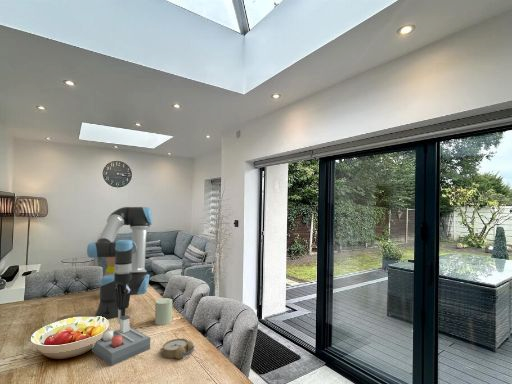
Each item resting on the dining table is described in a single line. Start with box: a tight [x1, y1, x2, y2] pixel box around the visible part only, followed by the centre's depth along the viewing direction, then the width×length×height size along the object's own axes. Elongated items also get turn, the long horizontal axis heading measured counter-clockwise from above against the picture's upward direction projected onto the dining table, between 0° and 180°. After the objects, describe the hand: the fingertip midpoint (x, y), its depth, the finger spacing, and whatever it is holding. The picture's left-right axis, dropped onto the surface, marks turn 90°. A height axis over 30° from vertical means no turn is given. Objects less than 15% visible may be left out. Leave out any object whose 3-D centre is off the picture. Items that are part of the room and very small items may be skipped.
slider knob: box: [119, 314, 131, 333], centre depth 130 cm, size 3×3×7 cm
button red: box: [111, 335, 122, 348], centre depth 118 cm, size 4×4×4 cm
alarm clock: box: [160, 338, 195, 360], centre depth 121 cm, size 11×5×15 cm
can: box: [154, 297, 173, 326], centre depth 153 cm, size 9×9×12 cm
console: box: [91, 325, 151, 366], centre depth 123 cm, size 19×17×6 cm
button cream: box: [102, 329, 114, 342], centre depth 123 cm, size 4×4×4 cm
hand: (121, 322), depth 131 cm, fingers closed
